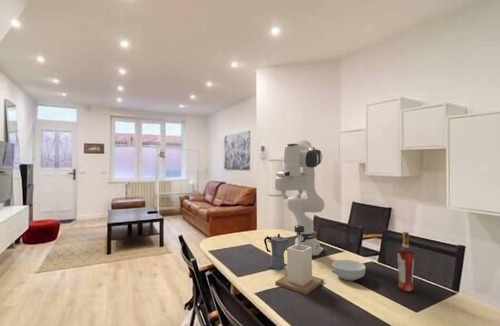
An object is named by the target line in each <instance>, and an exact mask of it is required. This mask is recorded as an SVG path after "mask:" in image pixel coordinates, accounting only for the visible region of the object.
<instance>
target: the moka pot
mask: <svg viewBox="0 0 500 326" xmlns="http://www.w3.org/2000/svg"><path fill="white" fill-rule="evenodd" d="M267 240H268V241H270V247H271V250H270V249H269V247H268V243H267ZM263 242H264V245H265V246H264V247H265V249H266V252H268V253H271V257H270V263H269V267H270V269H273V270H277V271H279V270H284V269H285V268H286V267H285V266H286V265H285V251H286V249H287V248H286V247H287V246H288V244H289V242H290V240H289V239H288V238H286V237H284V236H281V234H280V233H278V234H277V236H268V235H267V236H265V238H264V239H263Z"/></svg>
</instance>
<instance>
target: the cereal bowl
mask: <svg viewBox="0 0 500 326" xmlns="http://www.w3.org/2000/svg"><path fill="white" fill-rule="evenodd" d="M332 270H333V273H334V274H335V275H336V276H338V277H339V278H341V279H343V280H345V281H350V282H351V281H353V282H354V281H356V280H359V279H361V278H364V276H365V275H366V270H367V269H366V265H365V264H364V263H361V262H359V261H355V260H349V259H341V260H340V259H339V260H335V261H333V262H332Z"/></svg>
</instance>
